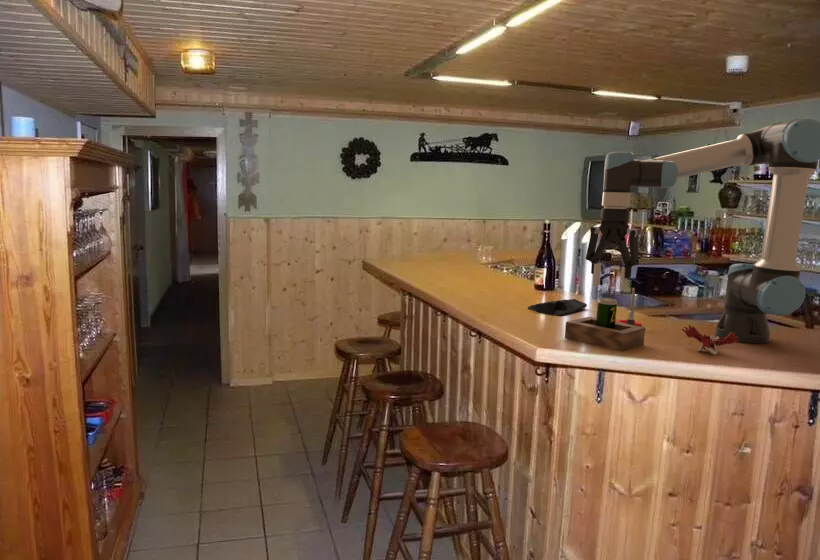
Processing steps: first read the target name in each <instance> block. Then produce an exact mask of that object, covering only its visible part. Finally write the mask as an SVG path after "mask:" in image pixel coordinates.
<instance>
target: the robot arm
mask: <svg viewBox="0 0 820 560" xmlns="http://www.w3.org/2000/svg"><path fill="white" fill-rule="evenodd" d="M634 155H635V154H634V153H633V152H631V151H612V152H608V153H607V154H606V155H605V161H604V168H603V171H604V173H603V186H602V187H603V189H602V190H603V191H602V200H601V206H602V207H603V208H601V211H600V212H601V214H600V215H601V216H600V221H601V222H600V225H599V226H590V228H589V231H590V237H589V241H588V247H587V251H586V256H585V260H586V261H589V262H590V263H591V271H590V273H591V274H592V275H593V276H592V286H593V287H598V286H600V285H601V284H600V283H601V271H602V263H601V258H602V255H603V254H604V251H605V249H606V248H607V245H608V244H609V243H610V242H611V241H613V242H616V244H617V246H618V248H619V252H620V255H621V259H622V261H623V266H621V271H620V272H621V273H620V286H619V290H620V291H625V290H628V282H629V281H628V280H629V279H630V278H631V276H632V268H633V267H634V266H638V265H639V264H640V261H639V259H640V258H639V246H638V245H639V244H638V236H639V229H632V228H630V226H629V220H630V209H629V208H630V206H631V196H632V195H631V194H632V188H634V189H637V188H654V189H655V188H656V189H657V188H658V189H666V188H667V189H669V188H670V189H671V188H673V187H674V186H675V185H676V183H677V181H678V179H681V178H687V177H690V176H695V175H699V174H704V173H708V172H714V171H717V170H721V169H725V168H731V167H735V166H739V165H741V166H742V167H749V166H755V165H768V168H767V170H769V172H770V173H771V174H772V182H771V183H772V184H771V188H770V194H769V202H768V209H767V215H766V216H767V217H766V221H765V222H766V223H765V229H764V235H763V242H762V249H761V255H760V259H759V260H758V261H756V262H755V263H754V264H753V263H752V264H751V263H734V264H731V265H729V268H728V273H727V279H726V281H727V282H726V289H725V297H724V298H725V299H724V307H723V308H724V310H723V312H722V314H721V316H720V318H719V320H718V322H717V324H716V327H715V332H714V335H716V337H717V336H719V338H723V337H726V336H727V335H728V334H729V333H730V332H733V333H732V334H736V335H735V336H734V337H739V338H738V339H739V340H738V339H737V340H738V342H739V343H740V342H741V343H749V344H765V343H767V344H768V343H769V342H770V340H771V331H770V330H771V329H770V326H769V322H768V318H767V315H771V316H775V317H776V316H777V317H779V316H780V317H784V316H787V315H790V314H792V313H794V312H795V311H797V310H798V309H799V308H800V307H801V306H802V304H803V303H804V300H805V299H806V287H805V286H804V284H803V282H802V281H801V280H800V275H801V268H800V267H799V265H798V264H797V263H796V262H797V261H796V260H797V254H798V249H799V248H798V247H799V241H800V236H801V228H802V222H803V217H804V210H805V204H806V197H807V191H808V185H809V180H810V176H811V175H813V174H814V173H815V172H817V171H818V164H819V160H820V121H818V120H816V119H813V118H812V119H811V118H796V119H793V120H788V121H784V122H783V121H782V122H776V123H773V124H769V125H768V126H767V125H766V126H763V127H762V128H759V129H756V130H753V131H749V132H746V133H742V134H739V135H738V136H737V137H736V139H731V140H728V141H722V142H719V143H714V144H709V145H705V146H701V147H697V148H693V149H688V150H684V151H680V152H676V153H675V152H674V153H671V154H666V155H663V156H658V157H654V158H649V159H644V160H643V159H641V160H640V159H635V157H634ZM600 233H601V237H600V239H599V235H600ZM626 236H628V243H629V248H628V245H627V239H626ZM598 240H599V243H598ZM734 332H735V333H734Z"/></svg>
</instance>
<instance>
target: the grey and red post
mask: <svg viewBox="0 0 820 560" xmlns="http://www.w3.org/2000/svg"><path fill="white" fill-rule="evenodd" d="M635 291H636V288H635V287H632V290H631V294H630V303H629V304H630V305H629V311H628V315H627V317H628V318H626V319H616V321H615V322H619V323H624V324H629V325H634V326H640V327H642V322H640V321H636V320H635V299H636V294H635V293H636V292H635Z"/></svg>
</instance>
